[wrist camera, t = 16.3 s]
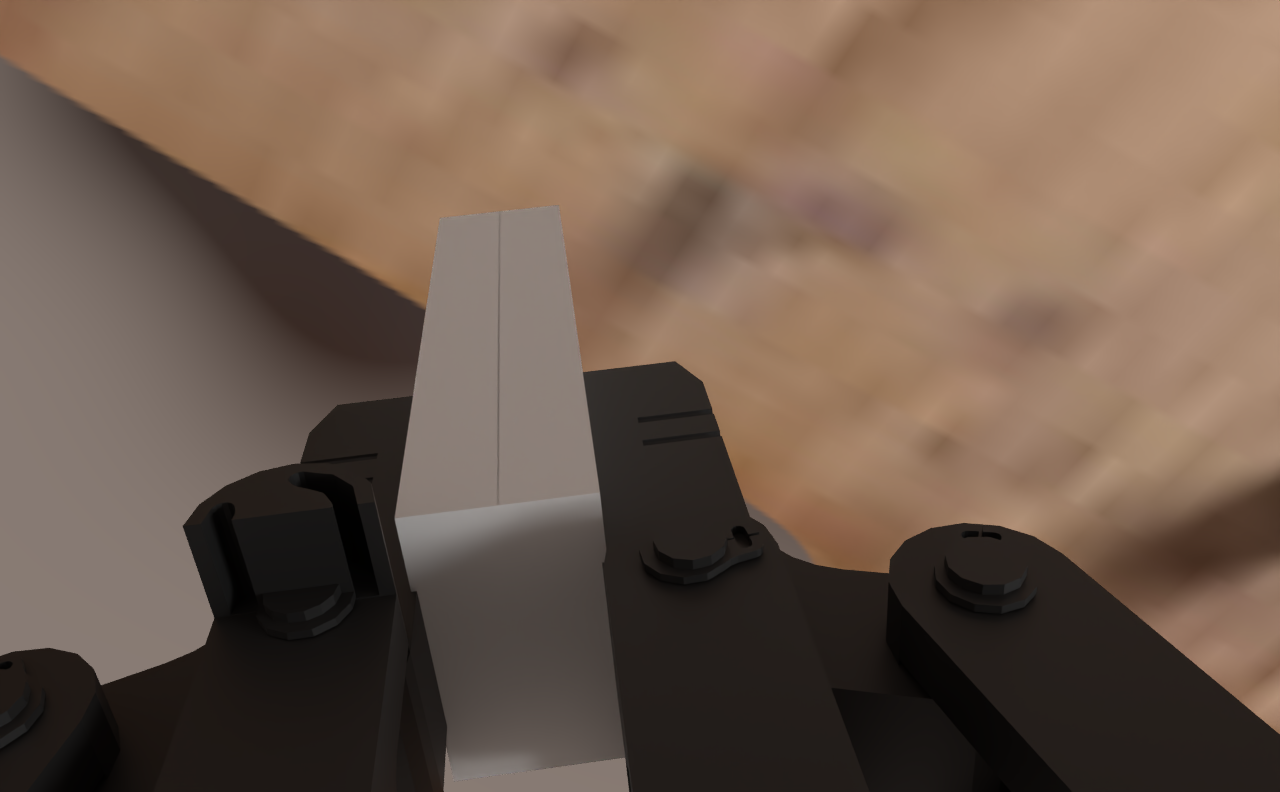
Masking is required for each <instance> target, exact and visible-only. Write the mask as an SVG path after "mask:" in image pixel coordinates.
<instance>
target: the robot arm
mask: <svg viewBox="0 0 1280 792" xmlns="http://www.w3.org/2000/svg"><path fill="white" fill-rule="evenodd" d="M183 528H184V531H185V534H186V537H187V540H188V542H189V546H190V549H191V551H192V554H193V557H194V560H195V563H196V566H197V568H198V572H199V575H200V578H201V580H202V583H203V586H204V589H205V592H206V595H207V598H208V601H209V603H210V607H211V609H212V612H213V615H214V621H213V624H212V627H211V630H210V633H209V636H208V638H207V641H206V644H205V645H204V646H202V647H200V648H199V649H197V650H196V651H193V652H191V653H189V654H186V655H184V656H182V657H179V658H177V659H174V660H172V661H170V662H167V663H165V664H162V665H159V666H156V667H153V668H151V669H147V670H145V671H142V672H139V673H136V674H133V675H130V676H127V677H124V678H122V679H119V680H116V681H113V682H110V683H107V684H104V685H100V683H99V680H98V678H97V676H96V673H95V671H94V669H93V668H92V667H91V666H90V665H89V664H88V663H87V662H86V661H85V660H83V659H82V658H81V657H80V656H79V655H78V654H75V653H71V652H66V651H61V650H56V649H52V648H45V649H34V650H25V651H15V652H11V653H8V654H5V655H2V656H0V792H444V791H443V787H444V769H445V754H446V748H447V752H448V757H449V761H450V765H451V770H452V774H453V779H454V781H461V780H468V779H475V778H482V777H490V776H496V775H503V774H511V773H518V772H525V771H531V770H539V769H546V768H553V767H560V766H567V765H574V764H582V763H589V762H596V761H603V760H610V759H617V758H624V757H625V759H626V767H627V776H628V785H629V792H1280V734H1278V733H1277V732H1276V731H1275V730H1274V729H1272V728H1271V727H1270V726H1269V725H1268V724H1266V723H1265V722H1264V721H1263V720H1262V719H1260V718H1259V717H1258V716H1257V715H1256V714H1254V713H1253V712H1252V711H1251V710H1250V709H1248V708H1247V707H1246V706H1245V705H1244V704H1242V703H1241V702H1240V701H1239V700H1238V699H1236V698H1235V697H1234V696H1233V695H1232V694H1230V693H1229V692H1228V691H1227V690H1226V689H1224V688H1223V687H1222V686H1221V685H1220V684H1218V683H1217V682H1216V681H1215V680H1214V679H1212V678H1211V677H1210V676H1209V675H1208V674H1206V673H1205V672H1204V671H1203V670H1202V669H1200V668H1199V667H1198V666H1197V665H1196V664H1194V663H1193V662H1192V661H1191V660H1190V659H1188V658H1187V657H1186V656H1185V655H1184V654H1182V653H1181V652H1180V651H1179V650H1178V649H1176V648H1175V647H1174V646H1173V645H1172V644H1170V643H1169V642H1168V641H1167V640H1165V639H1164V638H1163V637H1162V636H1161V635H1159V634H1158V633H1157V632H1156V631H1155V630H1153V629H1152V628H1151V627H1150V626H1149V625H1147V624H1146V623H1145V622H1144V621H1143V620H1141V619H1140V618H1139V617H1138V616H1137V615H1135V614H1134V613H1133V612H1132V611H1131V610H1129V609H1128V608H1127V607H1126V606H1125V605H1123V604H1122V603H1121V602H1120V601H1119V600H1117V599H1116V598H1115V597H1114V596H1113V595H1111V594H1110V593H1109V592H1108V591H1107V590H1105V589H1104V588H1103V587H1102V586H1101V585H1099V584H1098V583H1097V582H1096V581H1095V580H1093V579H1092V578H1091V577H1090V576H1089V575H1087V574H1086V573H1085V572H1084V571H1083V570H1081V569H1080V568H1079V567H1078V566H1077V565H1075V564H1074V563H1073V562H1072V561H1071V560H1069V559H1068V558H1067V557H1066V556H1065V555H1063V554H1062V553H1060V552H1059V551H1057V550H1056V549H1054V548H1052V547H1051V546H1049V545H1047V544H1046V543H1044V542H1042V541H1041V540H1039V539H1037V538H1036V537H1034V536H1031V535H1028V534H1024V533H1021V532H1018V531H1014V530H1011V529H1008V528H1005V527H1001V526H994V525H981V524H968V523H961V524H955V525H948V526H942V527H936V528H930V529H928V530H926V531H924V532H922V533H920V534H918V535H916V536H914V537H912V538H910V539H908V540H906V541H904V543H903V544H902V545H901V546H900V548H899V549H898V550H897V551H896V553H895V554H894V555H893V556H892V558H891V559H890V569H889V573H878V572H866V571H855V570H843V569H837V568H831V567H825V566H819V565H815V564H812V563H809V562H806V561H803V560H799V559H796V558H793V557H791V556H790V555H788V554H786V553H784V552H782V551H781V550H780V549H779V546H778V543H777V542H776V541H775V540H774V538H773V537H772V535H771V534H770V533H769V531H768V530H767V528H766V527H765V526H764V525H763V524H761V523H759V522H758V521H756V520H754V519H752V518H751V517H750V516H749V513H748V510H747V507H746V504H745V502H744V499H743V496H742V493H741V490H740V487H739V484H738V482H737V479H736V476H735V473H734V470H733V467H732V464H731V462H730V459H729V456H728V453H727V450H726V447H725V444H724V442H723V439H722V436H720V430H719V427H718V424H717V421H716V419H715V416H714V414H713V413H712V407H711V404H710V401H709V399H708V396H707V393H706V390H705V387H704V384H703V382H702V381H701V380H699V379H698V378H697V377H695V376H694V375H693V374H691V373H690V372H689V371H687V370H686V369H685V368H683V367H682V366H681V365H679V364H678V363H677V362H675V361H674V362H666V363H657V364H649V365H641V366H632V367H624V368H615V369H607V370H598V371H590V372H583V371H582V364H581V357H580V350H579V343H578V336H577V329H576V322H575V315H574V308H573V301H572V294H571V287H570V280H569V273H568V266H567V259H566V252H565V245H564V238H563V231H562V224H561V217H560V210H559V205H555V206H545V207H536V208H527V209H518V210H509V211H499V212H490V213H481V214H472V215H463V216H453V217H444V218H440V222H439V228H438V235H437V241H436V248H435V255H434V261H433V268H432V274H431V281H430V288H429V294H428V301H427V307H426V314H425V321H424V328H423V334H422V340H421V347H420V354H419V360H418V367H417V374H416V380H415V387H414V393H413V396H409V397H401V398H393V399H384V400H376V401H367V402H360V403H350V404H342V405H337V406H336V407H335V408H334V409H333V410H332V411H331V412H330V413H329V414H328V415H327V416H326V417H325V418H324V419H323V420H322V421H321V422H320V423H319V424H318V425H317V426H316V427H315V428H314V429H313V430H312V431H311V432H310V433H309V436H308V439H307V443H306V446H305V449H304V452H303V456H302V459H301V464H291V465H287V466H282V467H278V468H273V469H269V470H265V471H260V472H257V473H255V474H253V475H250V476H248V477H245V478H243V479H241V480H238V481H236V482H234V483H231V484H229V485H227V486H225V487H224V488H222V489H221V490H219V491H218V492H216V493H215V494H214V495H212V496H211V497H210V498H208V499H206V500H205V501H204V502H202V503H201V504H199V506H198V507H197V508H196V510H195V511H194V512H193V514H192V515H191V516H190V517H189V519H188V520H187V521H186V523H185V524H184V525H183Z"/></svg>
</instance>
